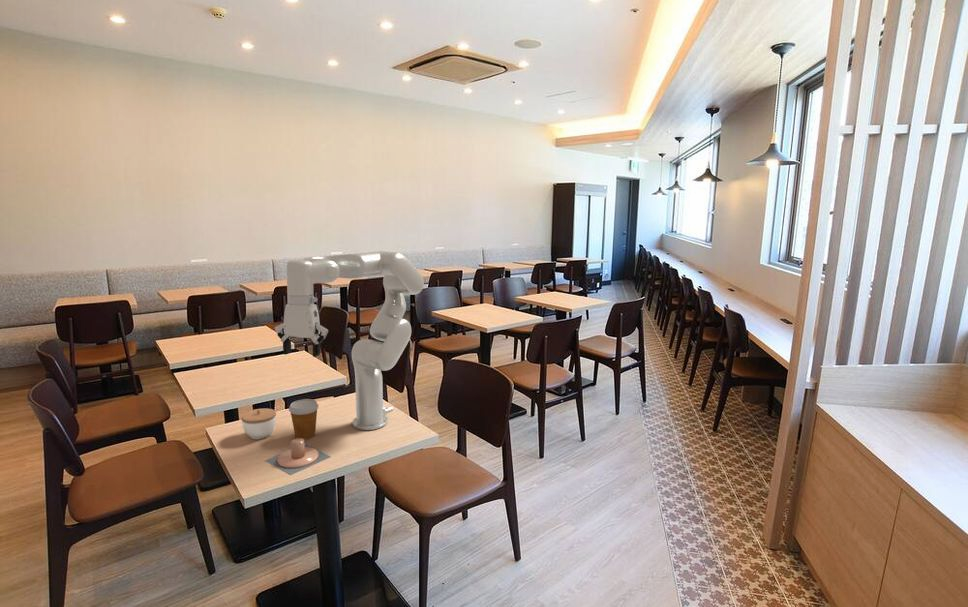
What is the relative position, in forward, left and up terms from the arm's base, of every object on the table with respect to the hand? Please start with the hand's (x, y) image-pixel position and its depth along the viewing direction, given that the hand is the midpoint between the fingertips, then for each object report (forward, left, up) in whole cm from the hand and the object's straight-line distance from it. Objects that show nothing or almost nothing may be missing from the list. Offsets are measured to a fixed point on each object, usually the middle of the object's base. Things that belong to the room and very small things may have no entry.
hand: (301, 354), depth 152 cm
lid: (+5, +3, -32) cm, 32 cm away
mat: (+5, +3, -33) cm, 33 cm away
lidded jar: (+3, -23, -33) cm, 40 cm away
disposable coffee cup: (-6, -10, -33) cm, 35 cm away
